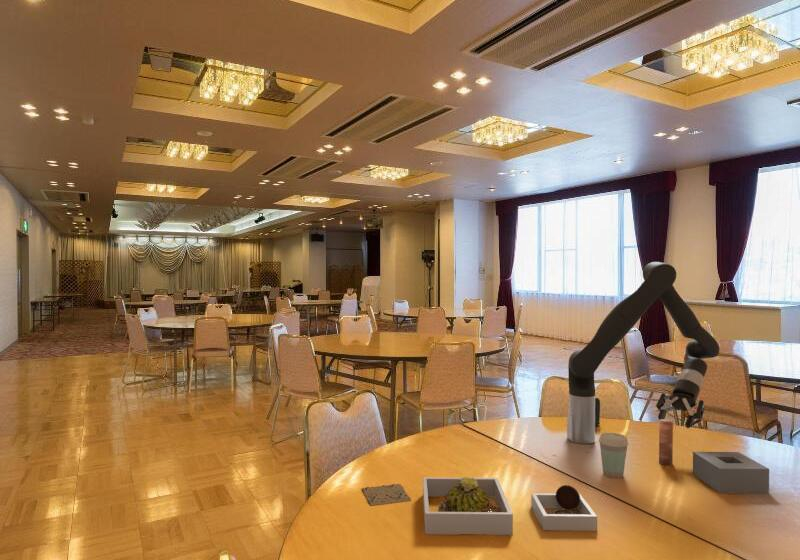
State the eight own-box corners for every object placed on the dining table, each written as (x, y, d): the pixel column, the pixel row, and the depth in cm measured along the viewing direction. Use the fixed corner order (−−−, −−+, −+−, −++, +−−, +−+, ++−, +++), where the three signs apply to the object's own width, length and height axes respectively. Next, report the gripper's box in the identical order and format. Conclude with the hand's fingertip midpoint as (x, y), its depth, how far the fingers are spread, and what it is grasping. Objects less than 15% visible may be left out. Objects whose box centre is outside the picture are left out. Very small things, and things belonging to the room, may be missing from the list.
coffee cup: (631, 481, 158) (631, 441, 158) (601, 478, 160) (601, 439, 159) (624, 470, 166) (625, 432, 166) (596, 468, 168) (596, 431, 168)
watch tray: (543, 530, 128) (543, 516, 128) (531, 506, 141) (531, 493, 141) (597, 530, 128) (597, 516, 128) (579, 506, 141) (580, 493, 141)
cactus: (481, 538, 124) (481, 498, 124) (425, 519, 134) (425, 481, 134) (512, 511, 138) (512, 475, 138) (459, 496, 148) (459, 462, 148)
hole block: (719, 492, 149) (719, 468, 149) (692, 473, 163) (692, 451, 163) (768, 493, 149) (769, 468, 149) (738, 474, 163) (738, 451, 163)
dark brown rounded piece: (548, 521, 133) (548, 492, 133) (556, 509, 140) (556, 481, 139) (581, 529, 129) (581, 499, 129) (588, 516, 135) (588, 488, 135)
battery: (594, 422, 218) (594, 395, 218) (600, 425, 215) (600, 397, 215) (580, 424, 216) (580, 396, 216) (585, 426, 213) (585, 398, 213)
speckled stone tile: (369, 508, 141) (369, 504, 141) (360, 489, 152) (360, 486, 152) (412, 503, 144) (412, 499, 144) (400, 485, 156) (400, 482, 156)
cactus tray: (425, 534, 126) (425, 513, 126) (422, 494, 148) (422, 477, 148) (512, 535, 126) (512, 514, 126) (497, 495, 148) (497, 477, 148)
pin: (662, 465, 170) (662, 422, 170) (656, 461, 174) (657, 419, 174) (674, 465, 170) (675, 422, 170) (668, 461, 174) (669, 419, 174)
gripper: (664, 375, 187) (648, 412, 180) (707, 381, 176) (692, 422, 168) (670, 388, 190) (655, 425, 183) (713, 395, 179) (699, 435, 172)
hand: (673, 423), depth 176 cm, fingers open, 8 cm apart
